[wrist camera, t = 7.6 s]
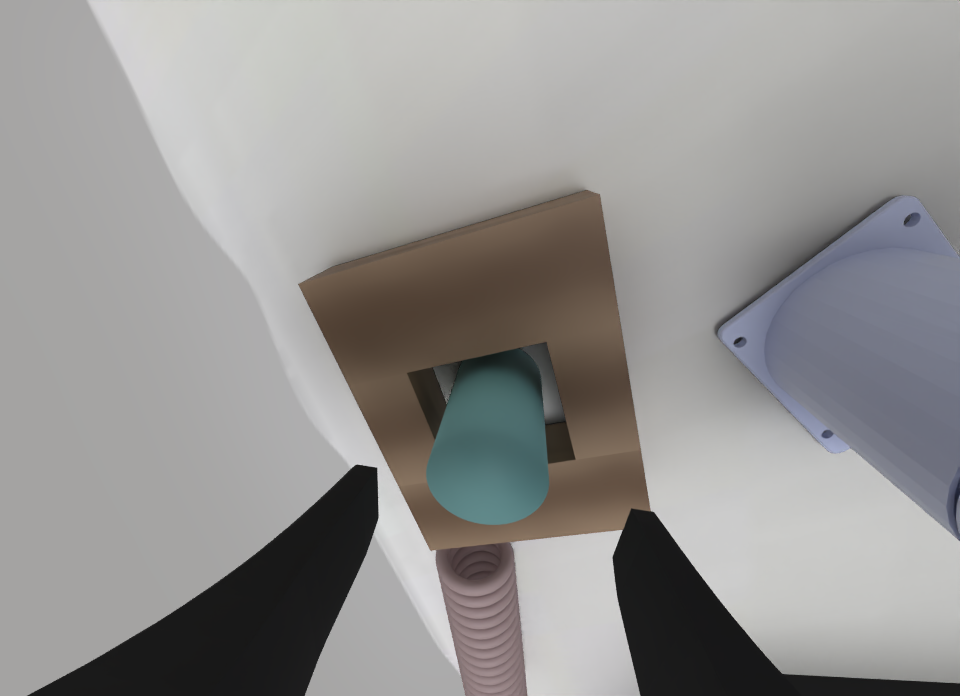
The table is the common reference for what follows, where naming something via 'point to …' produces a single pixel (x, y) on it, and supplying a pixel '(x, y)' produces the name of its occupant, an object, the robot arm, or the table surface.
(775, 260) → the table surface
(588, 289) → the socket block
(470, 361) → the teal peg
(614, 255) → the table surface
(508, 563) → the coil
